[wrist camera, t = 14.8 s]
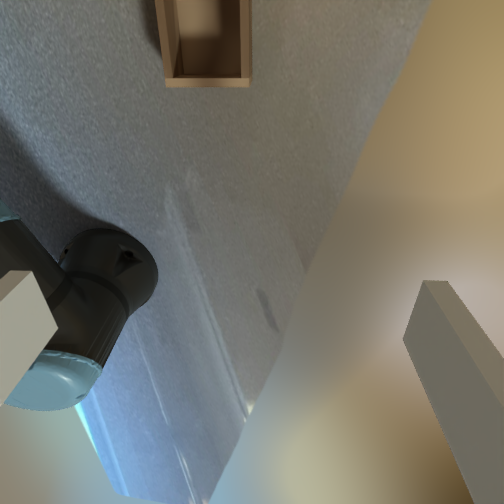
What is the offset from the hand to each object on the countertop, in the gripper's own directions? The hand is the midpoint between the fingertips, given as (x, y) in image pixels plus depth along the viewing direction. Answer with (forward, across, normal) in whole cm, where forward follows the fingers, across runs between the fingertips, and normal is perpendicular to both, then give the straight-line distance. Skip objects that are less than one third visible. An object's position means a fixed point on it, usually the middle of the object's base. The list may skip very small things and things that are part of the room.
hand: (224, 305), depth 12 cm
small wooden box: (+35, -5, +8) cm, 36 cm away
